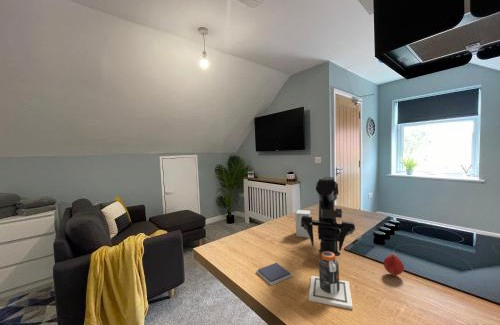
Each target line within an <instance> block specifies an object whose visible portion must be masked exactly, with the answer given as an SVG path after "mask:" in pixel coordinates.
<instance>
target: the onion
mask: <svg viewBox="0 0 500 325" xmlns="http://www.w3.org/2000/svg"><path fill="white" fill-rule="evenodd" d="M383 266H384V269H385V270H386V271H387V273H389V274H390V275H392V277H396V276H398V275H401V274H402V273H403V272H404V269H405V267H404V263H403V262H402V260H401V259H400V258H399V257H398V256H396V254H395V253H391V254H389V255H387V256H386V257H385V258H384V260H383Z"/></svg>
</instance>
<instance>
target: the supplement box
mask: <svg viewBox="0 0 500 325" xmlns="http://www.w3.org/2000/svg"><path fill="white" fill-rule="evenodd" d="M302 216H308V217H312V216H311V210H305V209H304V210H303V209H297V210H296V212H295V232H296V233H295V236H296V237H300V238H306V239H310V237H309V235H308V232H307V230H305V229H304V227H301V217H302Z"/></svg>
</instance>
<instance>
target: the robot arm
mask: <svg viewBox="0 0 500 325" xmlns="http://www.w3.org/2000/svg"><path fill="white" fill-rule="evenodd" d="M315 190H316V194H317V197H318V220H316V219H314V220H313V217H312V216H311V217H308V216H302V217H301V227H304V229H305V230H307V232H308V235H309V237H310V238H309V240H310V244H311V246H312V247H314V243H315V242H314V231H313V230H314V227H313V226H316V227H317V235H318V237H317V238H318V241H319V240H320V242H319V244H320V245H319V246H320V247H319V249H318V250H319V252H320V253H322V252H325V251H328V252H332V253H334V254H335V256H340V255H341V251H342V248H343V245H344V241H345V238H346V237H347V236H348V237H349V235H352V234H353V233H354V232H355V230H356V225H355V223H354V222H350V221H346V220H345V221H344V220H343V221H342V222H341V223H337V218H338V219H339V218H340V219H341V218H342V217H343V211H342V210H343V209H342V208H339V207H338V208H335V201H336V200H337V199H338V196H339V184H338V182H337V181H335V177H332V176H329V177H328V176H325V177H323V178H318V181H316V185H315Z"/></svg>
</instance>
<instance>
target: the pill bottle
mask: <svg viewBox="0 0 500 325" xmlns="http://www.w3.org/2000/svg"><path fill="white" fill-rule="evenodd" d="M318 273H319V276H318V277H319V278H320V288H321V289H322V290H323V291H324V292H326V293H330V294H335V293H338V292H339V290H340V286H339V280H340V267H339V262H338V260H337V259H336V255H335V254H334V253H332V252H328V251H325V252H321V258H319V261H318Z"/></svg>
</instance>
